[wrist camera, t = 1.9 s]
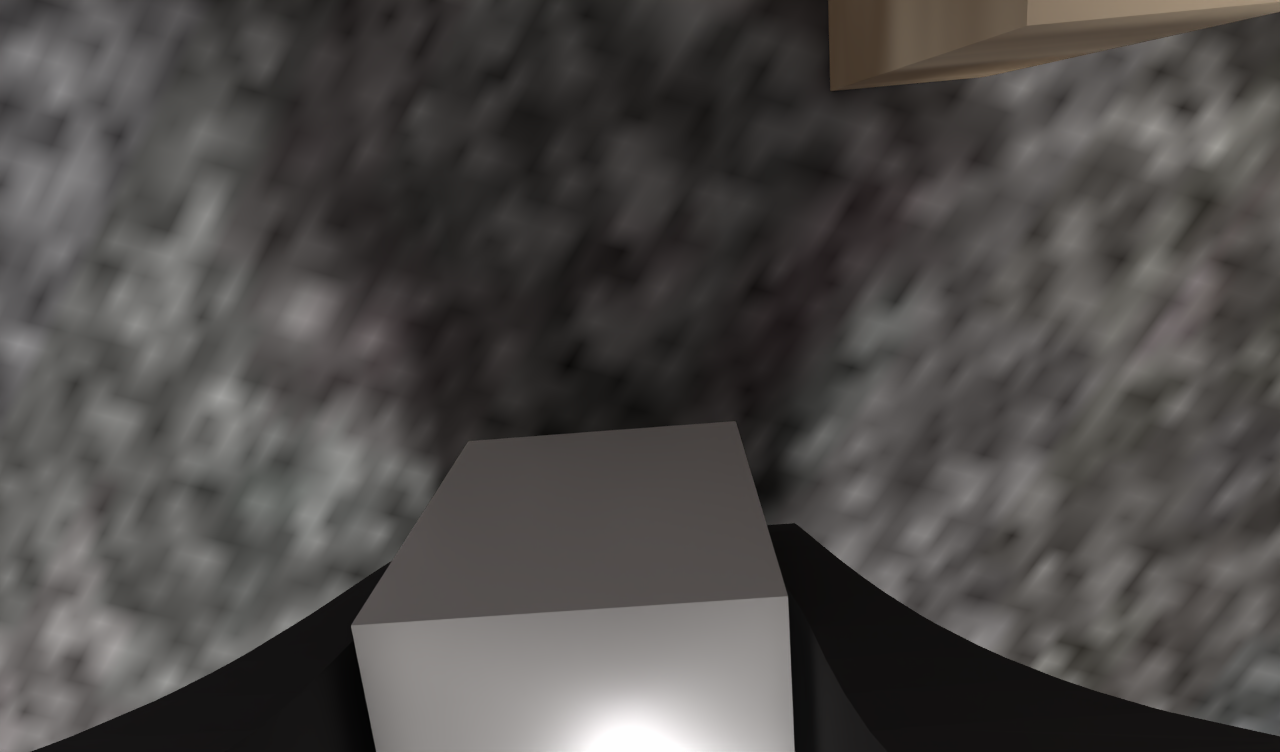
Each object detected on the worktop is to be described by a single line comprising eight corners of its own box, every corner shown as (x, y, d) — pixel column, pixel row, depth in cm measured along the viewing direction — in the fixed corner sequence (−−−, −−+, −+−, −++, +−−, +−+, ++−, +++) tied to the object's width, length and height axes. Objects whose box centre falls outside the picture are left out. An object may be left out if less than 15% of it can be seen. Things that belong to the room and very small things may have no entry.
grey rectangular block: (735, 419, 12) (787, 596, 7) (749, 655, 13) (802, 943, 8) (468, 439, 12) (351, 625, 8) (503, 671, 13) (418, 962, 9)
